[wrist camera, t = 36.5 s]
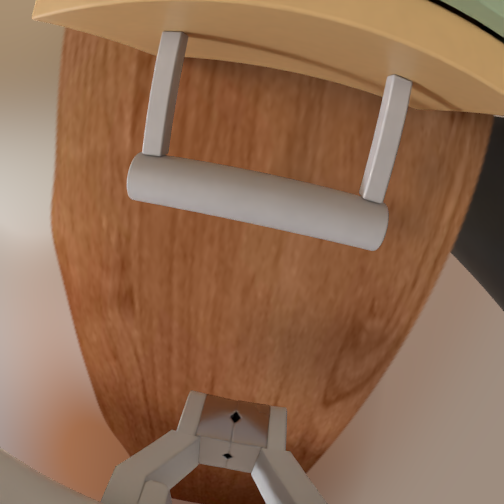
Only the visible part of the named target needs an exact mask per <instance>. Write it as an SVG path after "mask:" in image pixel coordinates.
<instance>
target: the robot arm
mask: <svg viewBox="0 0 504 504" xmlns="http://www.w3.org/2000/svg"><path fill="white" fill-rule="evenodd" d="M286 427H287V409H286V408H285V407H277V406H270V405H266V404H259V403H252V402H246V401H239V400H238V401H236V400H231V399H227V398H222V397H218V396H214V395H209V394H205V393H201V392H197V391H192V390H191V391H190V393H189V395H188V398H187V401H186V404H185V407H184V410H183V413H182V416H181V419H180V422H179V425H178V428H177V431H174V430H171V431H170V432H168V433H167V434H165V435H164V436H162V437H161V438H159V439H158V440H156V441H155V442H153V443H152V444H150V445H149V446H147V447H146V448H144V449H143V450H141V451H139V452H138V453H136V454H135V455H133V456H132V457H130V458H129V459H127V460H125V461H124V462H122V463H120V464H119V465H117V466H116V467H115V469H114V472H113V474H112V476H111V479H110V481H109V483H108V485H107V488H106V490H105V492H104V495H103V497H102V500H101V502H99V501H96V500H94V499H92V498H90V497H87V496H85V495H83V494H81V493H79V492H76V491H74V490H72V489H70V488H68V487H66V486H64V485H62V484H60V483H58V482H56V481H55V480H53V479H51V478H49V477H47V476H45V475H43V474H42V473H40V472H38V471H37V470H35V469H33V468H31V467H30V466H28V465H26V464H25V463H23V462H22V461H20V460H18V459H17V458H15V457H14V456H12V455H11V454H9V453H8V452H6V451H5V450H3V449H2V448H1V447H0V504H172V501H171V495H170V489H171V488H172V487H173V486H174V485H176V484H177V483H178V482H179V481H180V480H181V479H183V478H184V477H185V476H186V475H187V474H188V473H190V472H191V471H192V470H193V469H194V468H195V467H196V466H197V465H198V463H200V464H205V465H210V466H216V467H222V468H227V469H232V470H238V471H243V472H249V473H251V475H252V477H253V479H254V481H255V483H256V485H257V487H258V489H259V491H260V493H261V495H262V496H263V498H264V500H265V502H266V504H327V502H326V501H325V500H324V499H323V497H322V496H321V494H320V493H319V492H318V490H317V489H316V487H315V486H314V485H313V483H312V482H311V480H310V479H309V478H308V476H307V475H306V473H305V472H304V471H303V469H302V468H301V466H300V465H299V463H298V462H297V461H296V459H295V458H294V456H293V455H292V453H291V452H290V451H286Z"/></svg>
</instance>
